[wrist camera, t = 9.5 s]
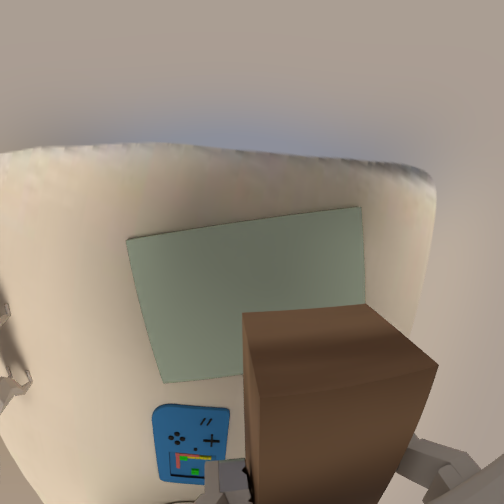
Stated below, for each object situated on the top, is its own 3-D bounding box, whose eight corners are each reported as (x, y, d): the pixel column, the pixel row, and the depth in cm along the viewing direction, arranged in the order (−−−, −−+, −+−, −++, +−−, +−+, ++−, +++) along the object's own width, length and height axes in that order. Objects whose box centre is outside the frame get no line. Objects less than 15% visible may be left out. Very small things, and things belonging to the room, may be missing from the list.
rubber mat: (361, 345, 29) (363, 348, 28) (164, 380, 27) (163, 383, 26) (358, 206, 26) (361, 207, 25) (127, 239, 24) (125, 240, 23)
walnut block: (242, 312, 10) (261, 402, 5) (366, 303, 10) (442, 367, 6) (246, 492, 12) (257, 561, 8) (328, 481, 13) (352, 543, 8)
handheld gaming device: (230, 412, 28) (222, 487, 31) (229, 406, 29) (221, 481, 32) (149, 405, 27) (159, 482, 30) (151, 399, 28) (160, 476, 31)
